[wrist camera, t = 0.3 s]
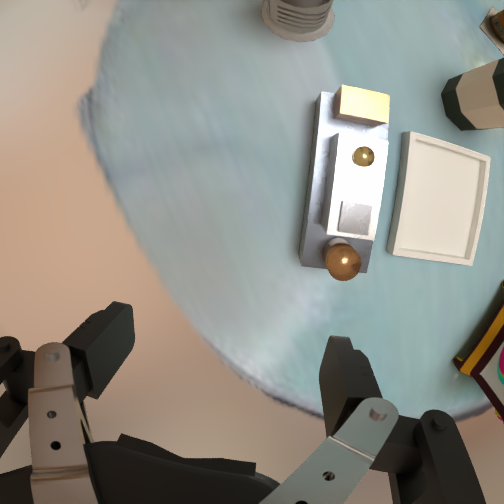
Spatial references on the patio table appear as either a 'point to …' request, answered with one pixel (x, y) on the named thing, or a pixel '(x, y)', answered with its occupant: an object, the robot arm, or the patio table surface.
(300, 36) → the french press
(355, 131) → the plane body
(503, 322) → the decorative lantern
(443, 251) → the tray
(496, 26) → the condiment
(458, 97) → the wine bottle
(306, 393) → the patio table surface
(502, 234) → the patio table surface
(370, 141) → the lever cap
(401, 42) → the patio table surface
